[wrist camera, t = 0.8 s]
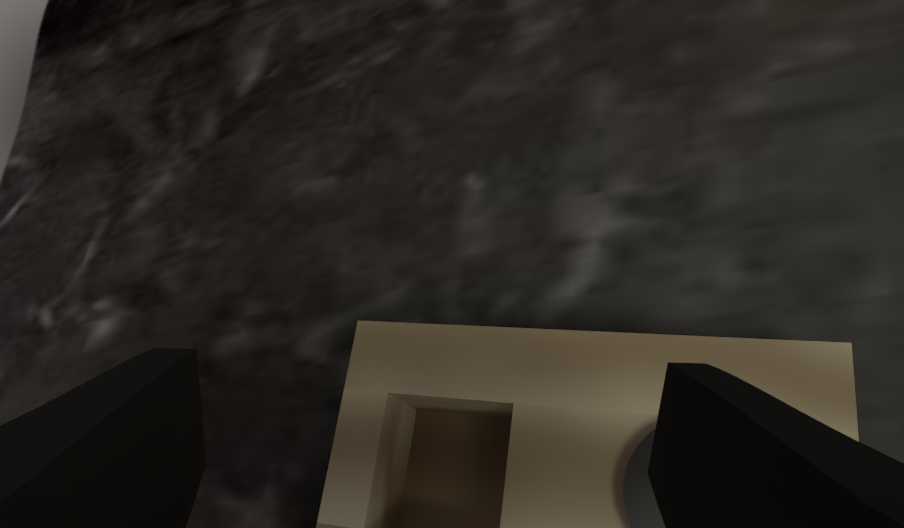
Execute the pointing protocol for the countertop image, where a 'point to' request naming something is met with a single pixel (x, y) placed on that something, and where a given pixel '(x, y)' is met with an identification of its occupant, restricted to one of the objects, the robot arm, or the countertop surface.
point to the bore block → (534, 421)
